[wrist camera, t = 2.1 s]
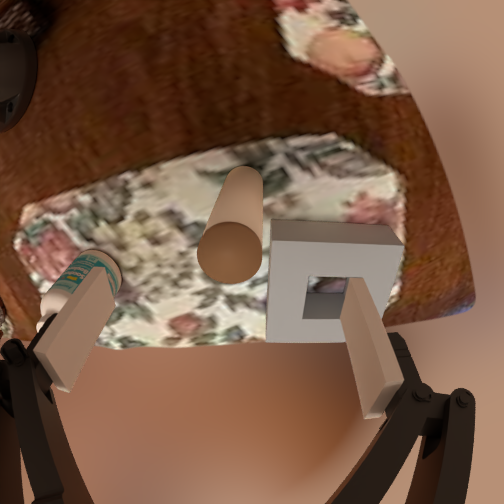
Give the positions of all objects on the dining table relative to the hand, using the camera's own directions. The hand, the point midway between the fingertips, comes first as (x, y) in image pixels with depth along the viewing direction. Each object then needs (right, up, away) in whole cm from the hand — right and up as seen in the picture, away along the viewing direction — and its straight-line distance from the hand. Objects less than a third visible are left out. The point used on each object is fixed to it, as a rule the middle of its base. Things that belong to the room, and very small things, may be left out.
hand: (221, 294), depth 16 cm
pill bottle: (-19, 0, +23) cm, 30 cm away
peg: (+1, +9, +16) cm, 19 cm away
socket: (+11, -1, +21) cm, 24 cm away
